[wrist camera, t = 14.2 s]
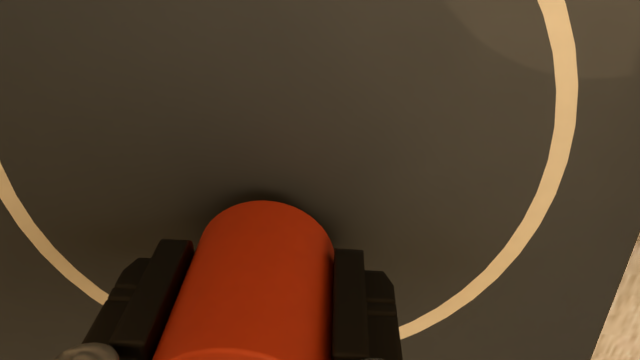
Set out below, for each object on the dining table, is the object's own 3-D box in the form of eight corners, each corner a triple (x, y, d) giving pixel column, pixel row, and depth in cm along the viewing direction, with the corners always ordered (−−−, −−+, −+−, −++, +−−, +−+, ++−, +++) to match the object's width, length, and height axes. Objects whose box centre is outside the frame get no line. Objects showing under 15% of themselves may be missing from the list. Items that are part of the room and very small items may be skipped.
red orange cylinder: (203, 305, 15) (147, 475, 11) (194, 195, 14) (123, 344, 9) (331, 312, 15) (327, 486, 11) (338, 202, 14) (336, 356, 9)
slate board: (-16, 384, 19) (-24, 397, 19) (-311, -422, 9) (-345, -437, 9) (560, 417, 19) (565, 430, 18) (859, -375, 9) (887, -388, 9)
